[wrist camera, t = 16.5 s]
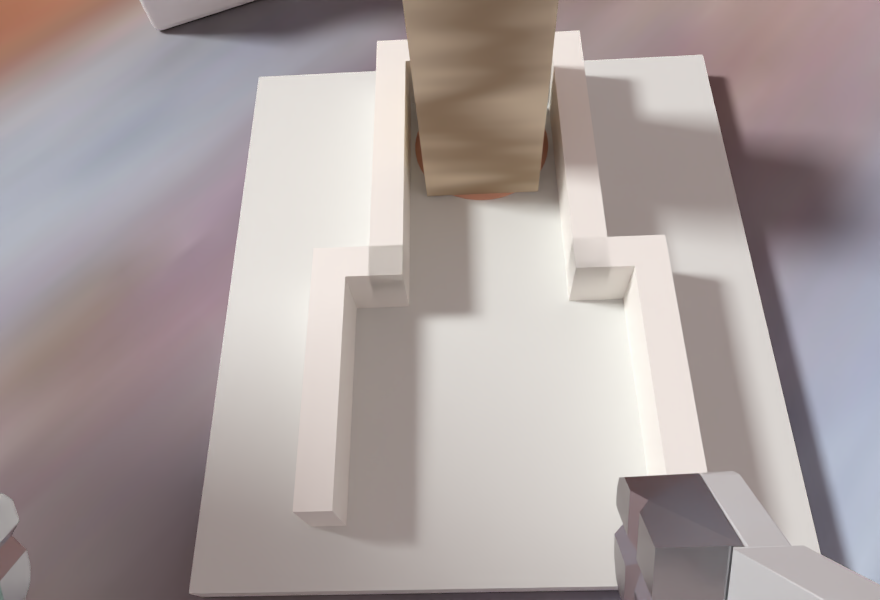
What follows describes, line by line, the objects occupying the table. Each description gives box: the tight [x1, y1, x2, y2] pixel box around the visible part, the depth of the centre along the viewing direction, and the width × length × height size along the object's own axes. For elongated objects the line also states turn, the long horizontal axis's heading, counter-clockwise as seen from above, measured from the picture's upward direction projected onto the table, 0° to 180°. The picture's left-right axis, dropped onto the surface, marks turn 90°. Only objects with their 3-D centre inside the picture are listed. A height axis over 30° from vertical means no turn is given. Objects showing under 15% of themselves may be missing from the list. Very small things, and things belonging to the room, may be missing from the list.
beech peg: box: [402, 0, 558, 196], centre depth 26 cm, size 4×4×11 cm
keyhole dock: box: [189, 31, 821, 597], centre depth 27 cm, size 20×22×4 cm
